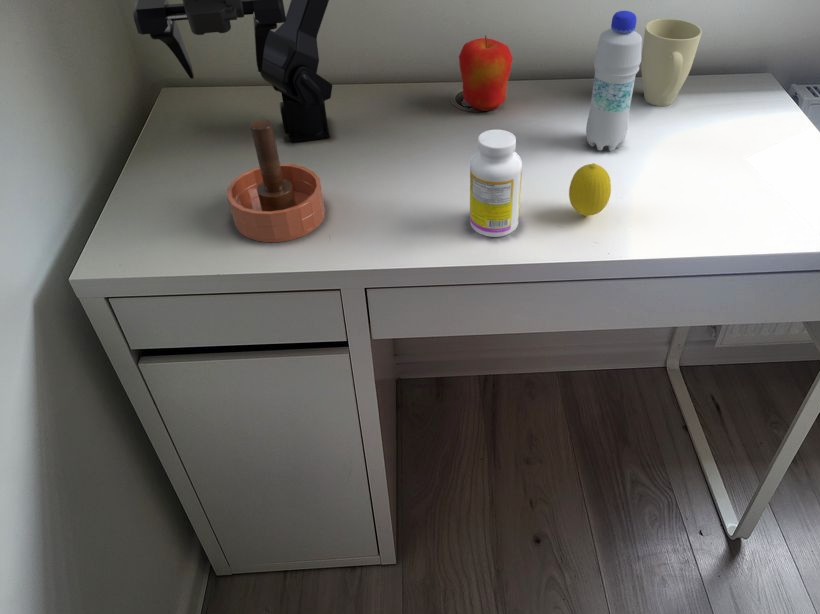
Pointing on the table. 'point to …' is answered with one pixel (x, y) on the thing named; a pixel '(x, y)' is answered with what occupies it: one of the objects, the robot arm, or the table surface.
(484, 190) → the supplement bottle
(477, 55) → the apple
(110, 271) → the table surface
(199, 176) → the table surface
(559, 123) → the table surface
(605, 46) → the bottle
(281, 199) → the pestle
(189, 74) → the robot arm
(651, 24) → the mug
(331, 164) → the table surface
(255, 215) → the bowl
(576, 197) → the lemon
